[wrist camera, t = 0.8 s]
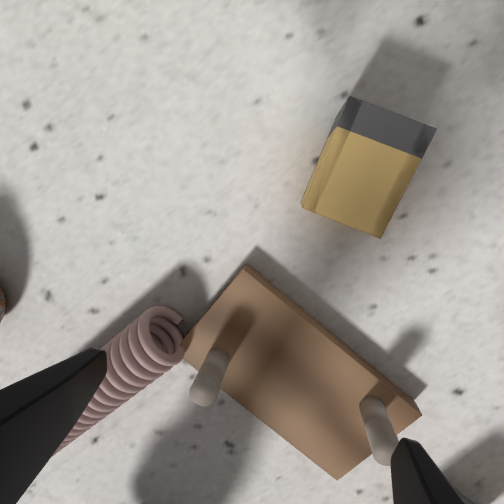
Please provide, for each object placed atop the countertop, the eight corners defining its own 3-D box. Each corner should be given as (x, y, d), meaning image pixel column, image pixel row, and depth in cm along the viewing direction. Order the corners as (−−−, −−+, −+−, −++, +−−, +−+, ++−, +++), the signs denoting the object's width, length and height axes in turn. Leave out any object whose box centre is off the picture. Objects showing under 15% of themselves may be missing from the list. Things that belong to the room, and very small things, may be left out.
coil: (134, 315, 20) (-7, 434, 25) (177, 370, 20) (27, 479, 25) (167, 295, 25) (43, 399, 29) (202, 339, 24) (72, 436, 29)
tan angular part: (437, 129, 15) (380, 238, 16) (404, 140, 19) (362, 226, 21) (349, 96, 15) (302, 207, 17) (337, 115, 19) (300, 202, 21)
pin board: (334, 463, 26) (345, 537, 20) (180, 341, 25) (150, 385, 20) (414, 400, 23) (449, 465, 18) (246, 263, 23) (231, 289, 17)
